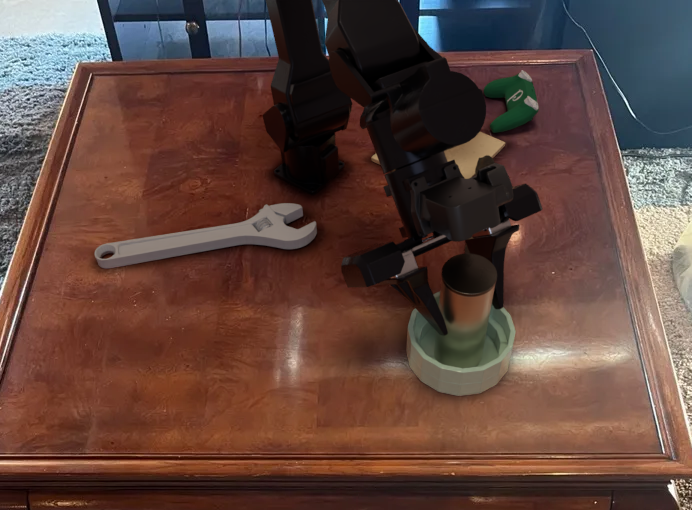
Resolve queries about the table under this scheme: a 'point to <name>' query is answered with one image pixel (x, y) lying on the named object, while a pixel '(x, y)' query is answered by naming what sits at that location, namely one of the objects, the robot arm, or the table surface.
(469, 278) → the tin
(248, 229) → the adjustable wrench
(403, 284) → the robot arm
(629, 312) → the table surface
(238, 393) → the table surface
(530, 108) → the gaming controller
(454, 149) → the plate
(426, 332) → the bowl
